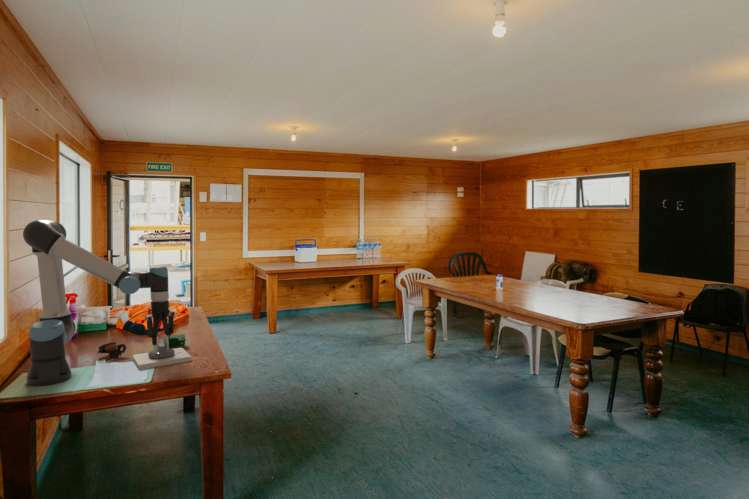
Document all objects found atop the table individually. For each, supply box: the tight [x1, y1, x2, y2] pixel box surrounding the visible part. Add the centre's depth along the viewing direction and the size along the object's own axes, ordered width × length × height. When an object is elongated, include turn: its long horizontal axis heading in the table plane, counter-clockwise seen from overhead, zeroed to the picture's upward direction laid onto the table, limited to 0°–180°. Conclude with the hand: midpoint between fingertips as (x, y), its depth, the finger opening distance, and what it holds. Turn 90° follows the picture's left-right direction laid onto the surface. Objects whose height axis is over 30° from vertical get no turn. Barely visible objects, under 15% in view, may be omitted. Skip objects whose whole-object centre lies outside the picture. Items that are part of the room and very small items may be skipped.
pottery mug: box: [97, 341, 127, 362], centre depth 226 cm, size 12×10×8 cm
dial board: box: [131, 347, 192, 370], centre depth 222 cm, size 22×18×2 cm
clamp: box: [160, 333, 187, 349], centre depth 242 cm, size 12×6×9 cm, turn 112°
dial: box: [147, 339, 174, 359], centre depth 222 cm, size 11×11×6 cm
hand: (161, 350), depth 222 cm, fingers closed on dial, 4 cm apart
